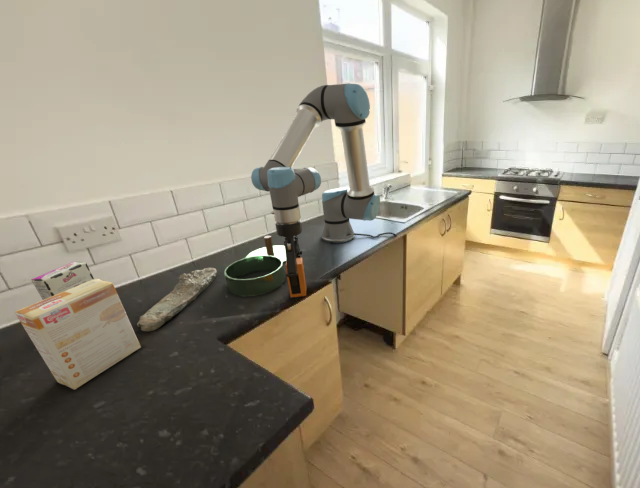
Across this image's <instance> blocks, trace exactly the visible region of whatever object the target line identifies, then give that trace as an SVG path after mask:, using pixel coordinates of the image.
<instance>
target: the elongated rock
mask: <svg viewBox="0 0 640 488" xmlns="http://www.w3.org/2000/svg"><path fill="white" fill-rule="evenodd" d="M217 275H218V271H217V269H216V268H214V267H205V268H202V269H194V270H193V271H190V272H189V273H182V274H180V275H179V278H178V280H179V281H178V282H177V283H176V285H174V288H173V290H172V291H170V292H169V293H167V294H166V295H165V296H164V297H162V298H161V299H160V300H159V301H158V302H157V303H155V304H154V305H153V306H151V308H149V309H147V311H146V312H145V313H144V314H142V315H140V316H139V317H138V319H139V320H138V321H137V323H136V325H137V327H138V328H139V327H140V331H142V332H152V331H157V330H158V329H160V328H161V327H162V326H163V325H164V324H165V323H167V322H169V321H170V320H171V319H173V317H175V316H176V315H177V314H179V313H181V312H182V311H183V310H184V309H185V307H187V306H189V305H190V304H191V303H192V302H193V301H195V300H196V299H197V297H198V296H199V295H200V294H202V292H204V291H205V290H206V289H207V288H208V287H209V286H210V285H211V284H212V283H213V282H214V280H215V279H216V277H217Z"/></svg>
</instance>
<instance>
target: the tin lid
mask: <svg viewBox="0 0 640 488" xmlns="http://www.w3.org/2000/svg"><path fill="white" fill-rule="evenodd" d="M263 239H264V245H265V246H263V247H261V248H256V249H255V250H252V251H251V252H249V253H248V254H247V255H246V256H245V258H248V257H253V256H261V255H268V256H275V257H278V258H280V259H281V260H282V262H283V264H284V263H286V253H285V247H284V245H274V244H273V240H272V235H265V236H264V237H263Z"/></svg>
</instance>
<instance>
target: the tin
mask: <svg viewBox="0 0 640 488" xmlns="http://www.w3.org/2000/svg"><path fill="white" fill-rule="evenodd" d="M284 267H285V266H284V263H283V262H282V260H281V259H280V258H278V257H275V256H268V255H261V256H253V257H248V258H246V257H244V258H242V259H238V260H236V261H234V262H232V263H230V264H229V265H227V266H226V267H225V269H224V272H223V273H224V278H225V281H226V286H227V289H228V291H229V292H230V294H232V295H235V296H238V297H239V296H241V297H253V296H259V295H263V294H266V293H269V292H272V291H274V290H276V289H278V288H279V287H281V286H282V285H283V284H284V282H285V281H286V274H285V273H286V271H285V268H284ZM259 271H272V272H270V273H268V274H265V275H263V276H258V277H252V278H245V279H244V278H240V277H242V276H244V275H247V274H250V273H254V272H259Z"/></svg>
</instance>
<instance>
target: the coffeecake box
mask: <svg viewBox="0 0 640 488" xmlns="http://www.w3.org/2000/svg"><path fill="white" fill-rule="evenodd" d="M122 303H123V302H122V301H121V299H120V296H119V294H118V292H117V289H116V288H115V285H114V283H113V282H110V281H105V280H102V279H99V278H94V279H93V280H90V281H88V282H86V283H83V284H81V285H78V286H76V287H74V288H71V289H69V290H66V291H64V292H61V293H59V294H56V295H54V296H52V297H49V298H47V299H44V300H43V299H41V300H39V301H37V302H35V303H32V304H30V305H28V306H25V307H22V308H20V309H18V310H15V311H14V314H15V316H16V317H17V319H18V321H19V322H20V324H21V326H22V327H23V329H24V330H25V332H26V334H27V335H28V337H29V339H30V340H31V342H32V344H33V346H35V348H36V350H37V352H38V353H39V355H40V356H41V358H42V360H43V361H44V363H45V365H46V367H47V368H48V369H49V371H50V373H51V374H52V376H53V377H54V379H55V381H56V382H57V383H59V384H60V385H63V386H65V387H68V388H70V389H71V390H74V391H76V390H77V389H78V388H80V387H82V386H83V385H84V384H86V383H87V382H89V381H92V379H94V378H95V377H97V376H99V375H100V374H101V373H103V372H105V371H107V370H108V369H110V368H111V367H113V366H114V365H116V364H117V363H119V362H120V361H122V360H124V359H125V358H128V357H129V356H130V355H131V354H133V353H134V352H136V351H138V350H139V349H141V348H142V345H141V344H140V341H139V340H138V338H137V335H136V333H135V330H134V328H133V326H132V323H131V321H130V319H129V317H128V315H127V312H126V309H125V308H124V305H123V304H122Z"/></svg>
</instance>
